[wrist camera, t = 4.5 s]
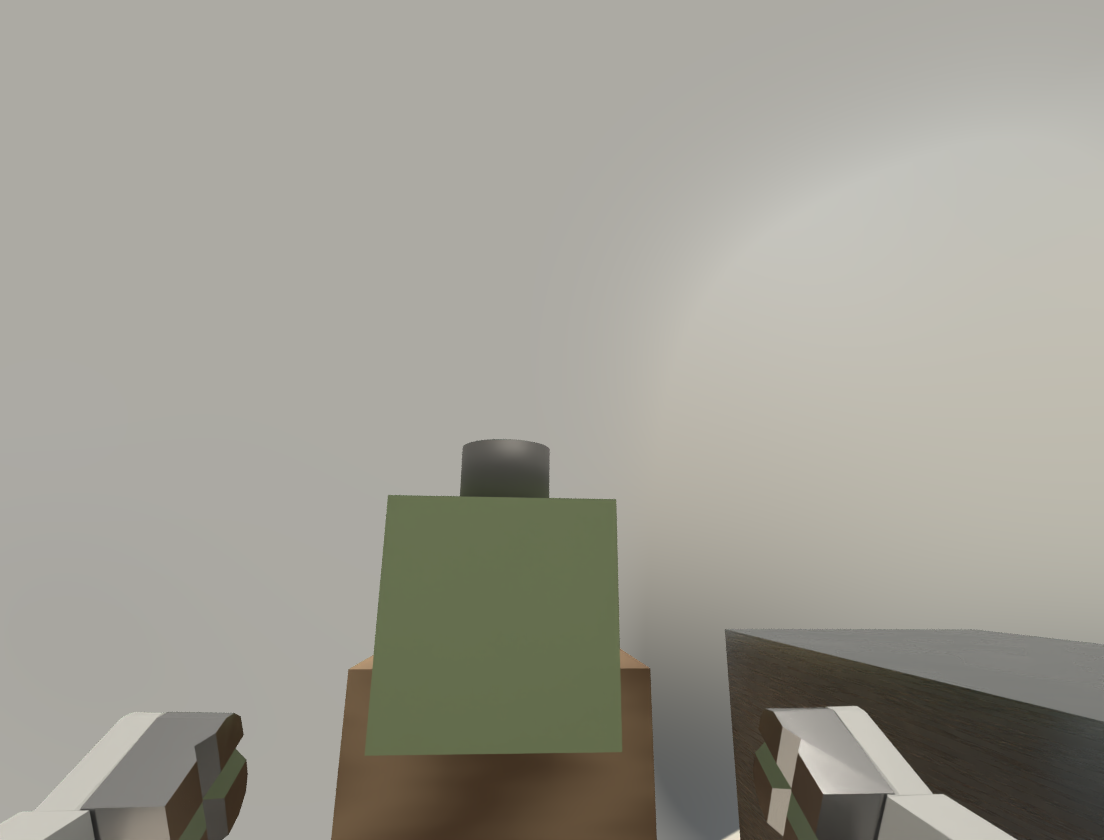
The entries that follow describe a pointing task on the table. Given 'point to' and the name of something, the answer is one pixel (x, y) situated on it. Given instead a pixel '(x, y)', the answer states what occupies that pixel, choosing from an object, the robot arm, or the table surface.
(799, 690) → the grey tall box
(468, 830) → the wooden block
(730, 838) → the table surface
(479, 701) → the green rectangular bar
